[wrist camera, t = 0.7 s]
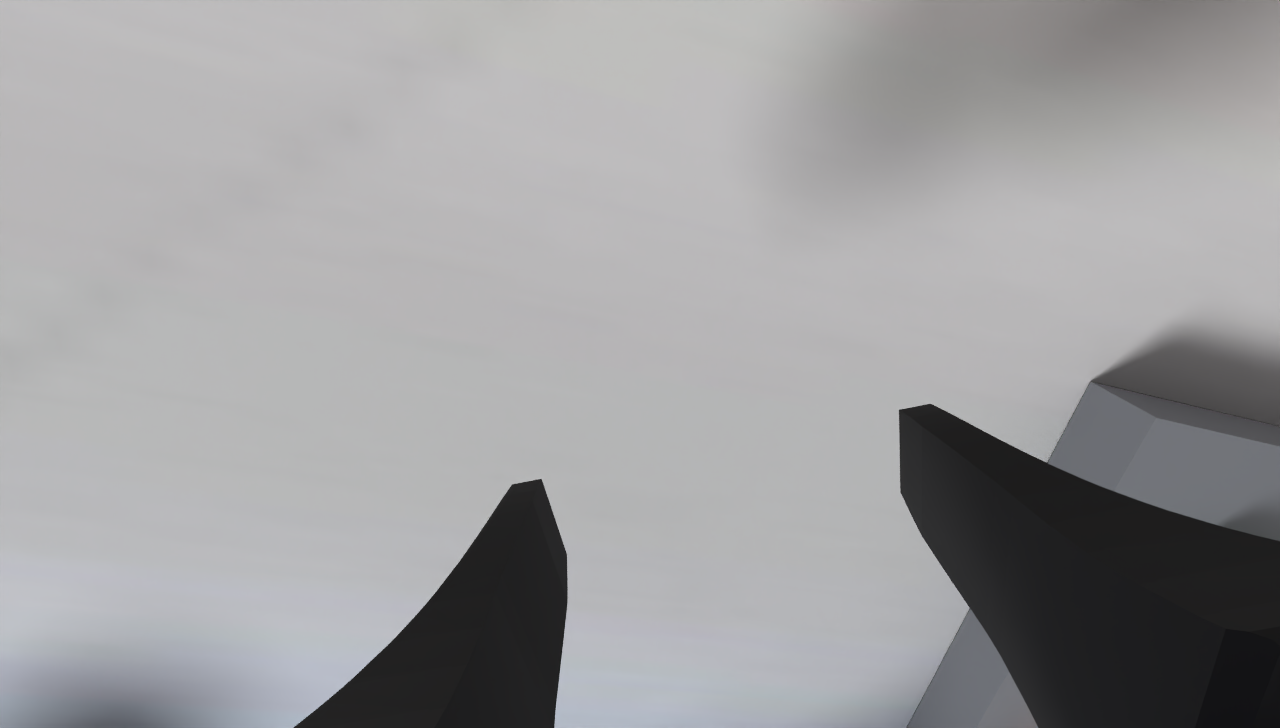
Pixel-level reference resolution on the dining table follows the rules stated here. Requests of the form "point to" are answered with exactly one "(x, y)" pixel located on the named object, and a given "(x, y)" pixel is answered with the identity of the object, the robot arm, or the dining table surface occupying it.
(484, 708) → the robot arm
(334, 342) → the dining table surface
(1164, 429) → the button panel
